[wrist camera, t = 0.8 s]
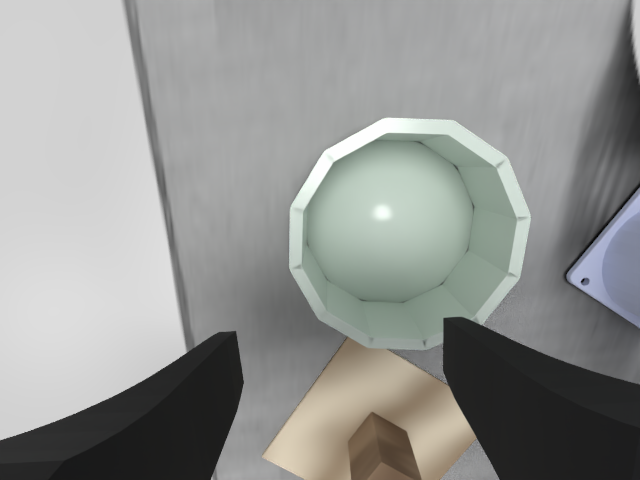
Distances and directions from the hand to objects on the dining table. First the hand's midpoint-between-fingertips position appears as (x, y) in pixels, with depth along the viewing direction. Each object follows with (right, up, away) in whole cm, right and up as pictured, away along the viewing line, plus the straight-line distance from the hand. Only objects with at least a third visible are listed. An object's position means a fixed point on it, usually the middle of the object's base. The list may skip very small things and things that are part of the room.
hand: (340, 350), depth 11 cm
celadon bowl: (+3, +5, +9) cm, 11 cm away
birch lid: (+3, -10, +13) cm, 17 cm away
